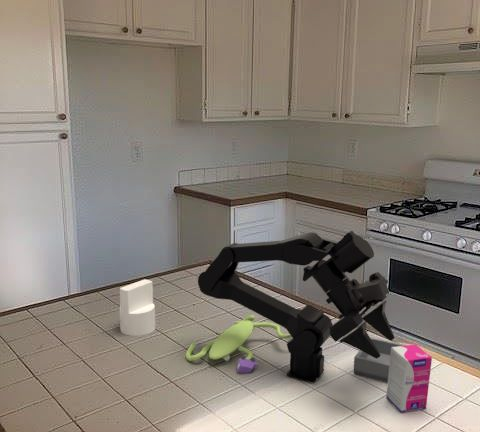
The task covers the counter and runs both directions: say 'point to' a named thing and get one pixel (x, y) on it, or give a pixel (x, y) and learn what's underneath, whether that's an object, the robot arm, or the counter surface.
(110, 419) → the counter surface
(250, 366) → the figurine
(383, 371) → the bin
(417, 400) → the supplement box
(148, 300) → the base with upright slab
